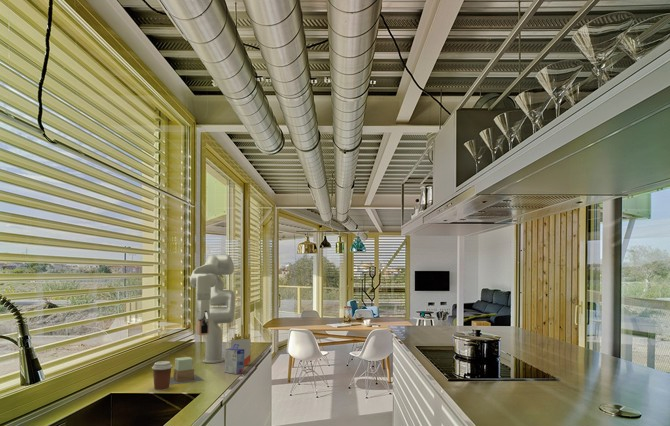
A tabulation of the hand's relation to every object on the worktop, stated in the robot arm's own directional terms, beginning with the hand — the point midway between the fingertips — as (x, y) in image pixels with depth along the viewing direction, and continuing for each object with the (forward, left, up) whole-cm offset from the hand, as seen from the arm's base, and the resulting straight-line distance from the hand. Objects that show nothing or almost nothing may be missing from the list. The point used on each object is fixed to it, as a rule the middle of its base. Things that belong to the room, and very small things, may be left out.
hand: (202, 332), depth 249 cm
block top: (+7, -11, -16) cm, 21 cm away
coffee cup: (+20, -24, -22) cm, 38 cm away
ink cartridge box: (+4, +16, -22) cm, 27 cm away
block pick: (0, 0, -1) cm, 1 cm away
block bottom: (+7, -11, -21) cm, 25 cm away
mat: (+7, -11, -22) cm, 25 cm away
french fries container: (-11, +25, -22) cm, 35 cm away
